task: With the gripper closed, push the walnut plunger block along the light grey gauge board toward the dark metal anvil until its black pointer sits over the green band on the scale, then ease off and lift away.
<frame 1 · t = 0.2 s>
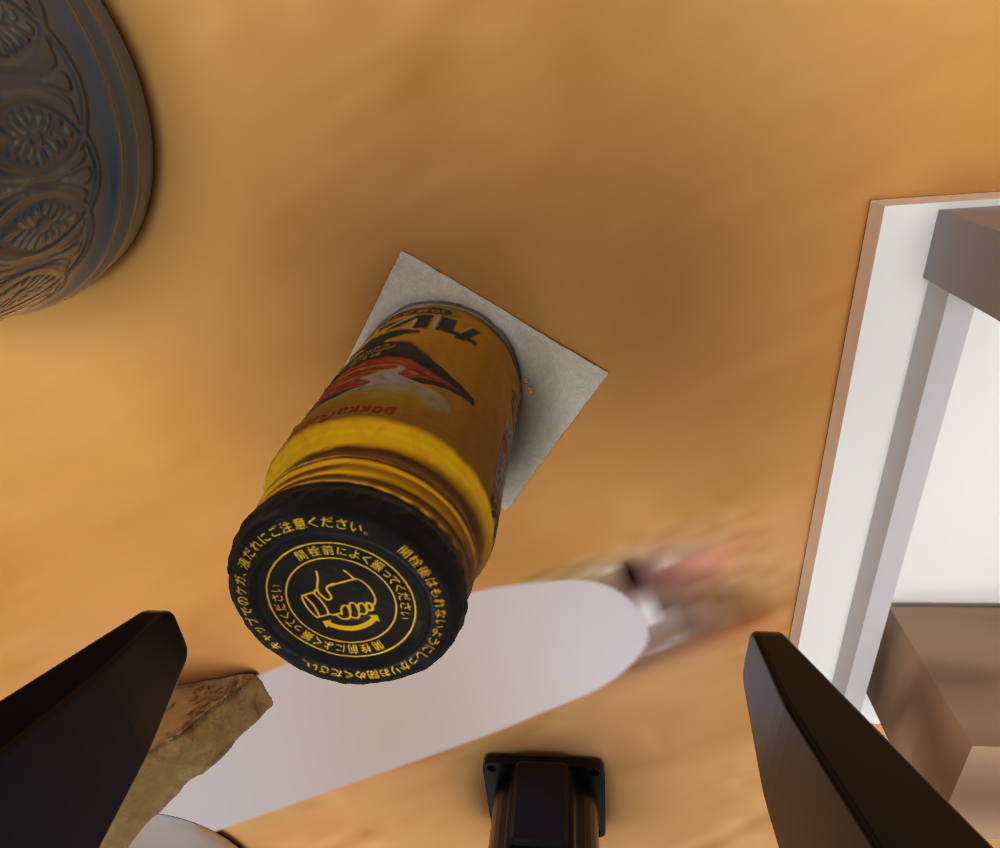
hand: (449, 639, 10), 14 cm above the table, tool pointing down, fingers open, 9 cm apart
gauge base: (966, 504, 24), on the table
condiment: (461, 387, 24), on the table
rock: (194, 700, 35), on the table
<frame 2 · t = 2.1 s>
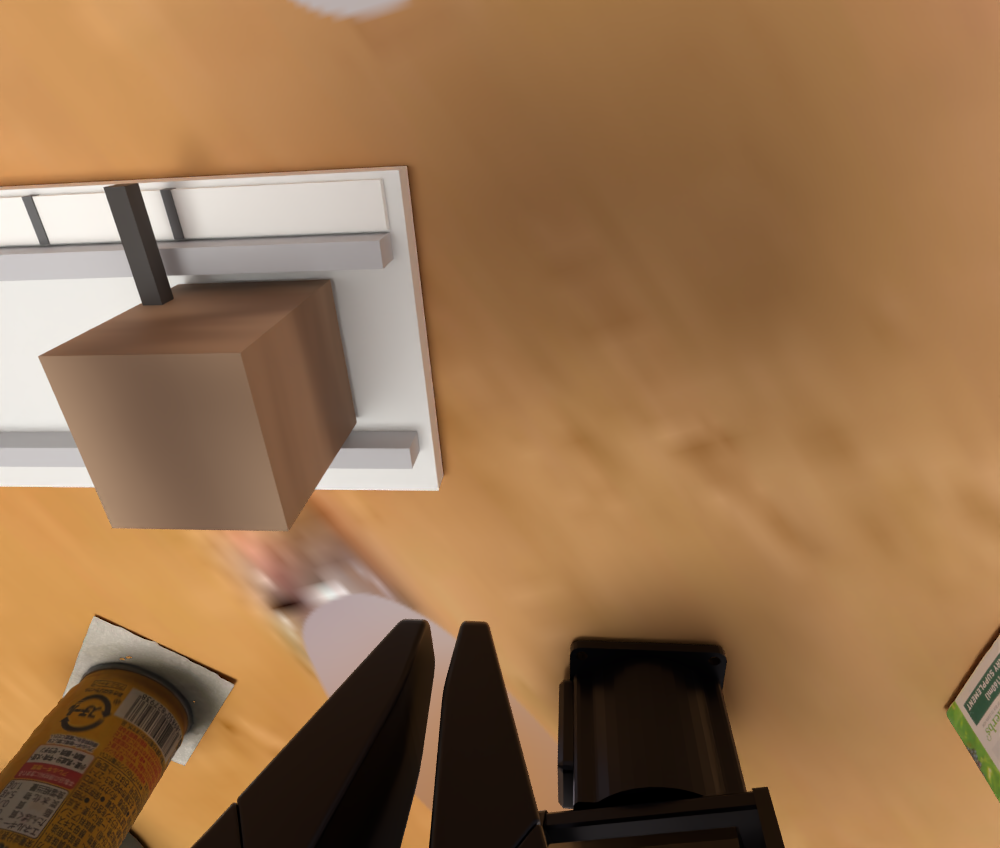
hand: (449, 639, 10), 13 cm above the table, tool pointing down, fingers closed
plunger: (213, 343, 17), point 4 cm above the table, slide at 0.0 cm
gauge base: (115, 345, 23), on the table
condiment: (147, 690, 33), on the table
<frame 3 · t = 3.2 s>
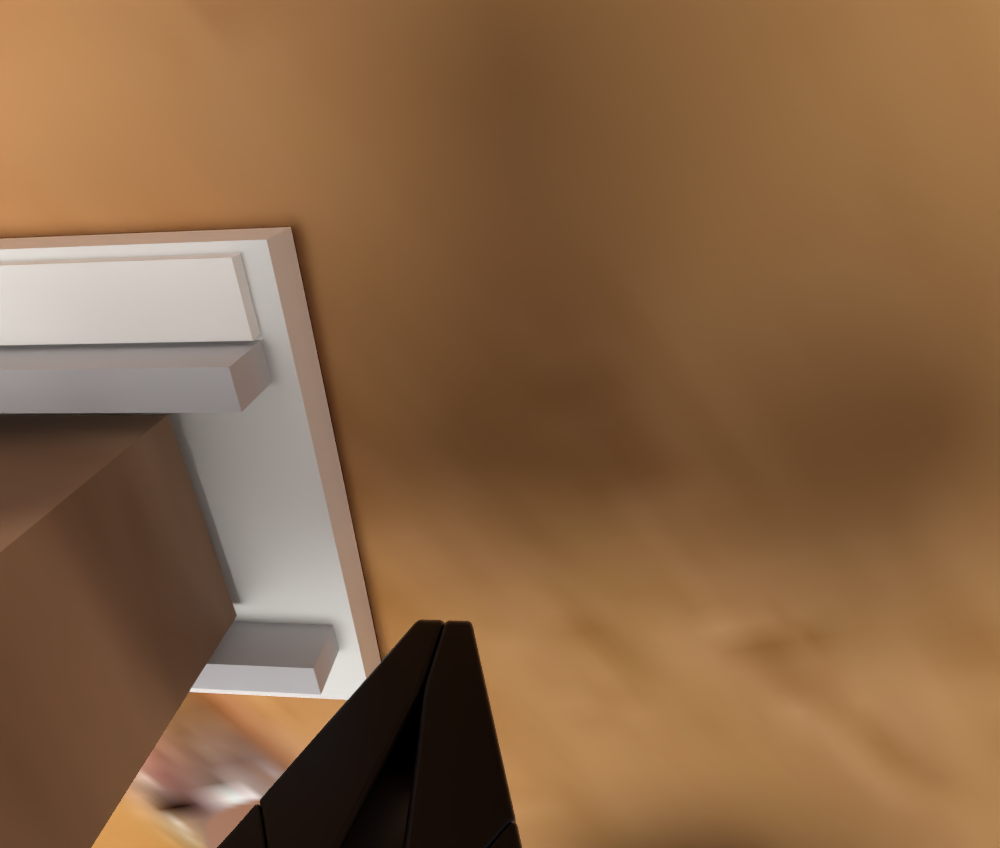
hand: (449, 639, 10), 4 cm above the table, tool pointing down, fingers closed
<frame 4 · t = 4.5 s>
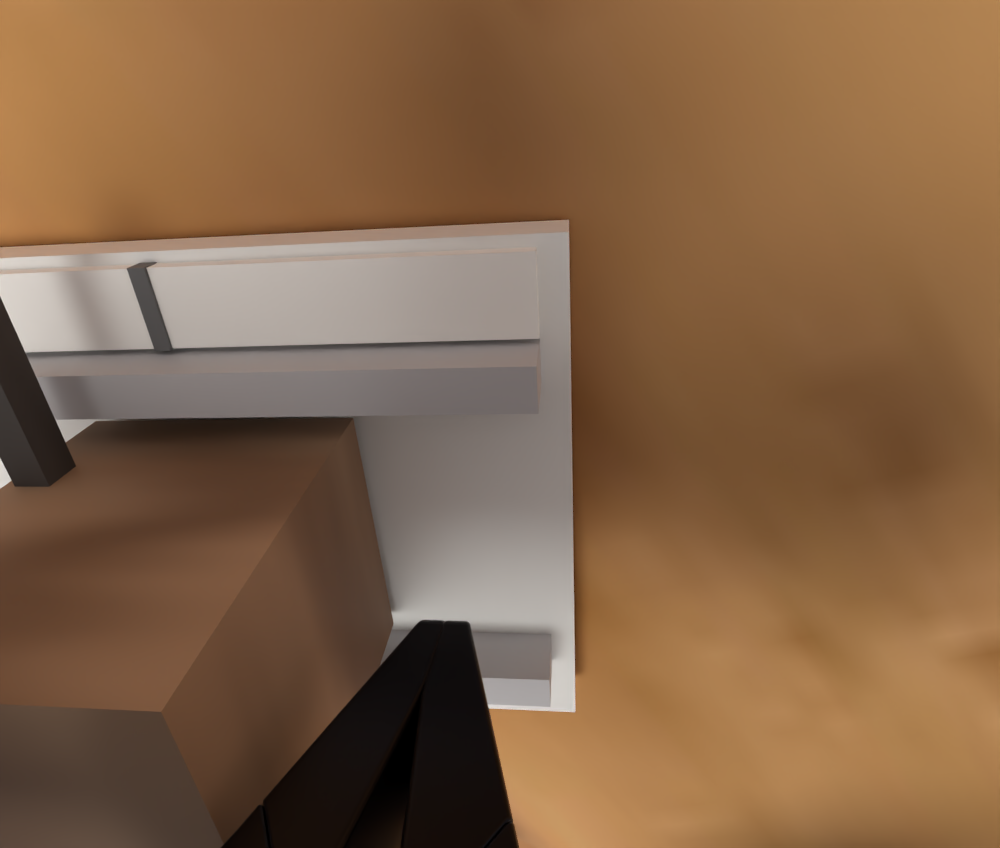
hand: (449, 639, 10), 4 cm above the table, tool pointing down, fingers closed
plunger: (139, 567, 9), point 4 cm above the table, slide at 1.4 cm, touching gripper
gauge base: (67, 491, 14), on the table
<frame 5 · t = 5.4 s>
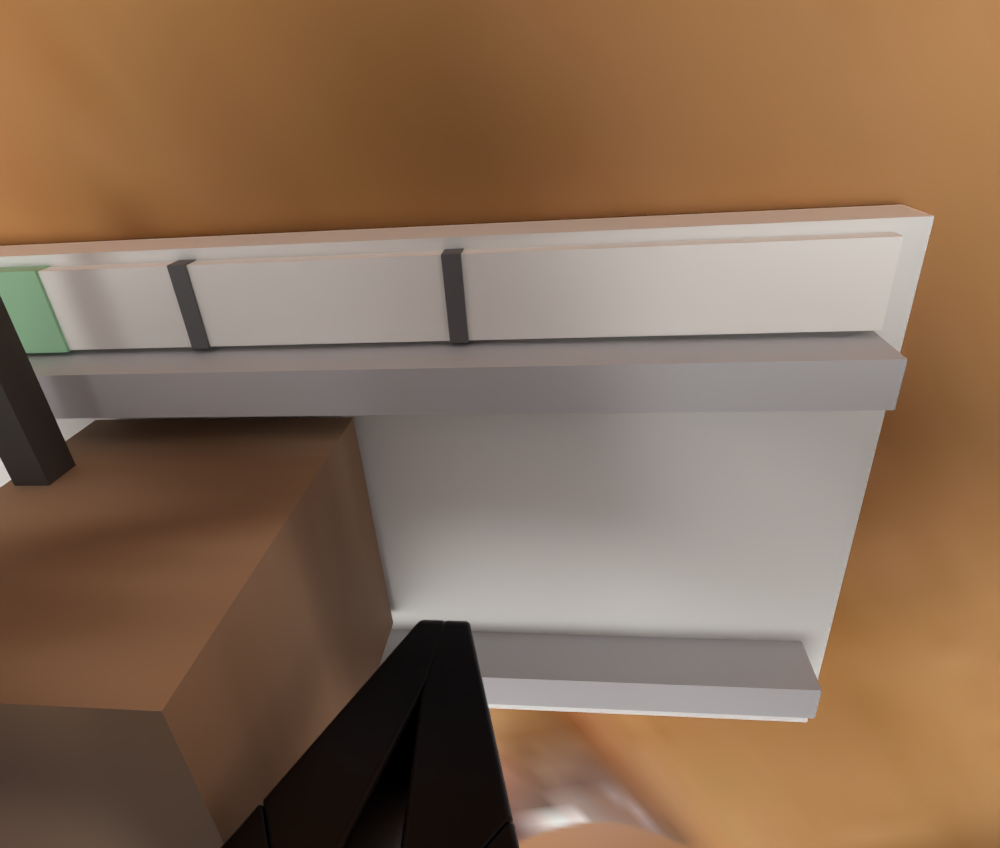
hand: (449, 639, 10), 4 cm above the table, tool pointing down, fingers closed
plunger: (138, 567, 9), point 4 cm above the table, slide at 6.6 cm, touching gripper
gauge base: (283, 491, 14), on the table
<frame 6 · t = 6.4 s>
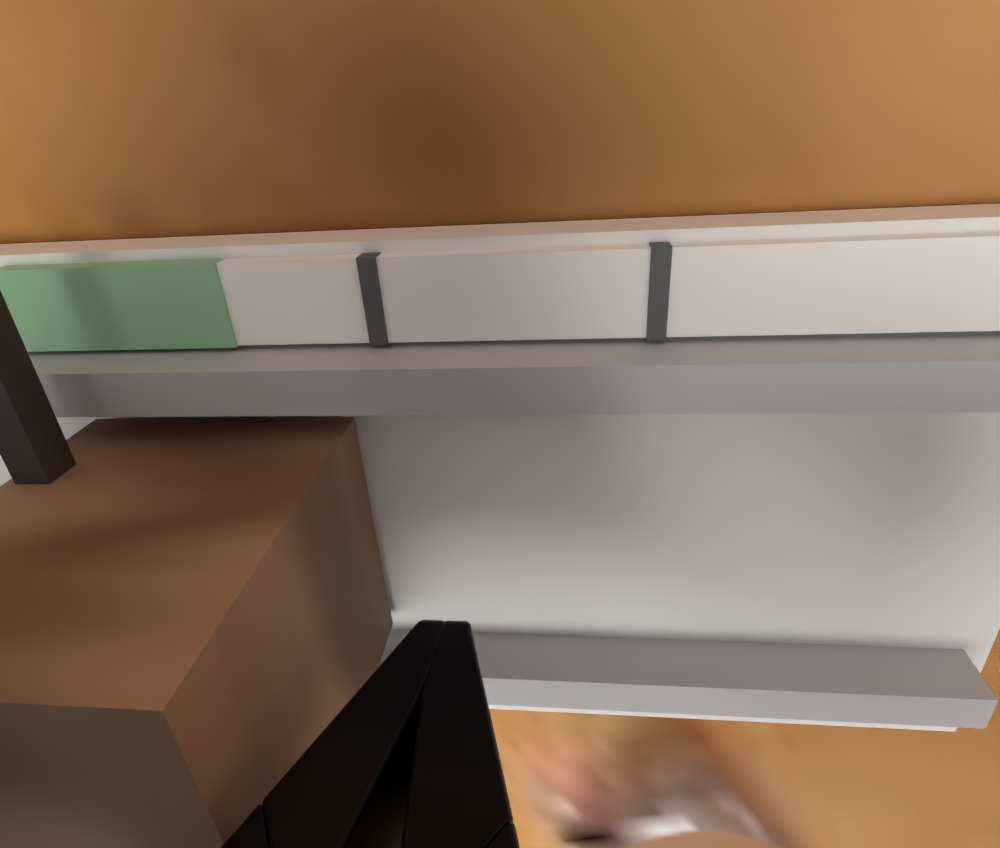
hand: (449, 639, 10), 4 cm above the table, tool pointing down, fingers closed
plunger: (139, 566, 9), point 4 cm above the table, slide at 9.7 cm, touching gripper
gauge base: (422, 492, 13), on the table
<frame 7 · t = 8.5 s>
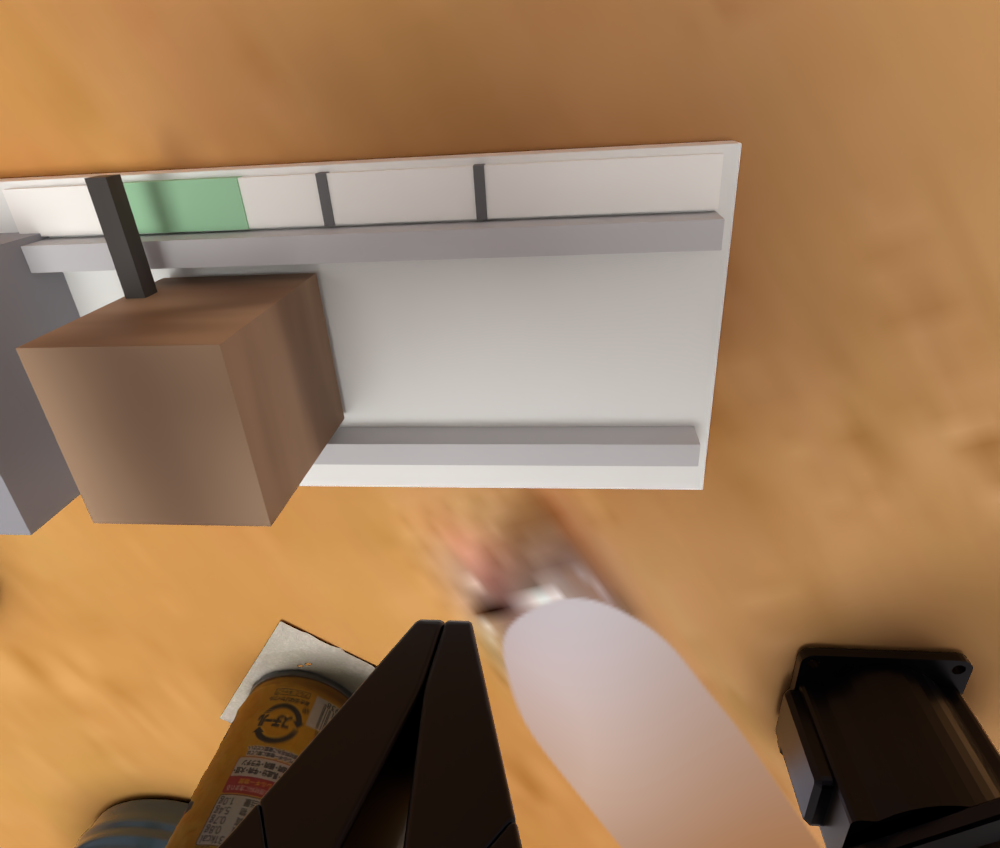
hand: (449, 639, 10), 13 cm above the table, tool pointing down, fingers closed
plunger: (196, 337, 17), point 4 cm above the table, slide at 9.7 cm
gauge base: (364, 335, 21), on the table
condiment: (318, 698, 31), on the table
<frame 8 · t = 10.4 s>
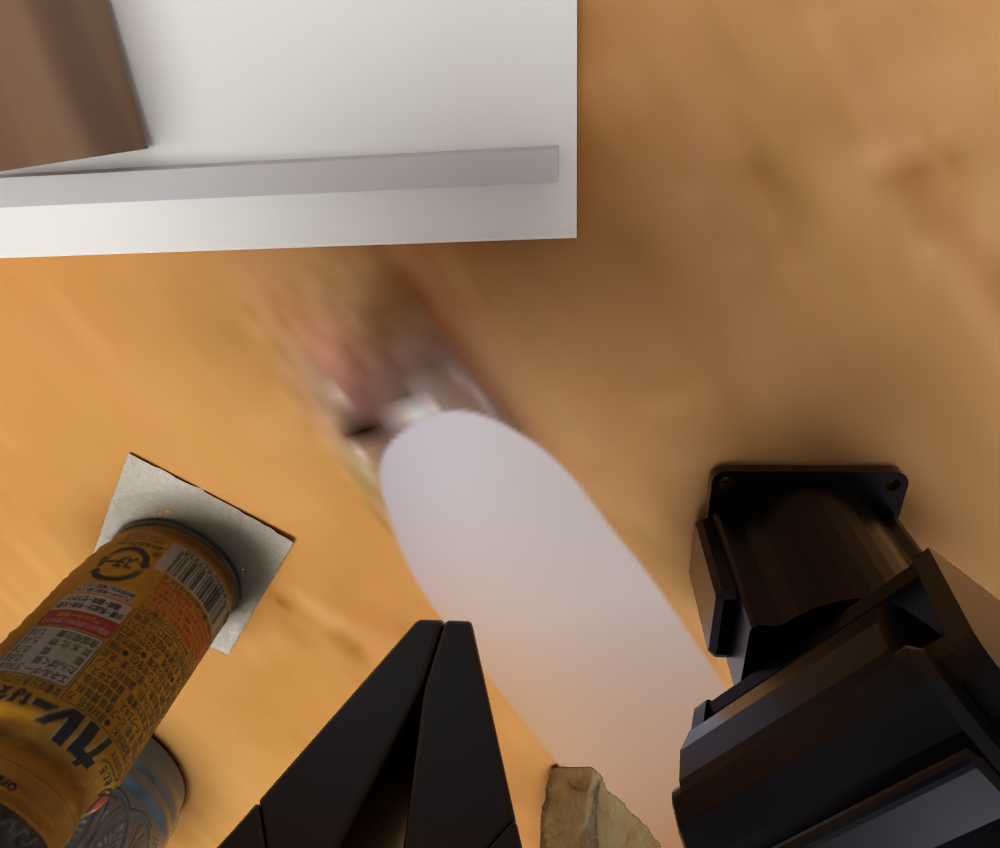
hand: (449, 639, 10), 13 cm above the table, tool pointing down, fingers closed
canister: (83, 757, 36), on the table
gauge base: (170, 47, 18), on the table
condiment: (187, 557, 28), on the table
rock: (608, 817, 34), on the table
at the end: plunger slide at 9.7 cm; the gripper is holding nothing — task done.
